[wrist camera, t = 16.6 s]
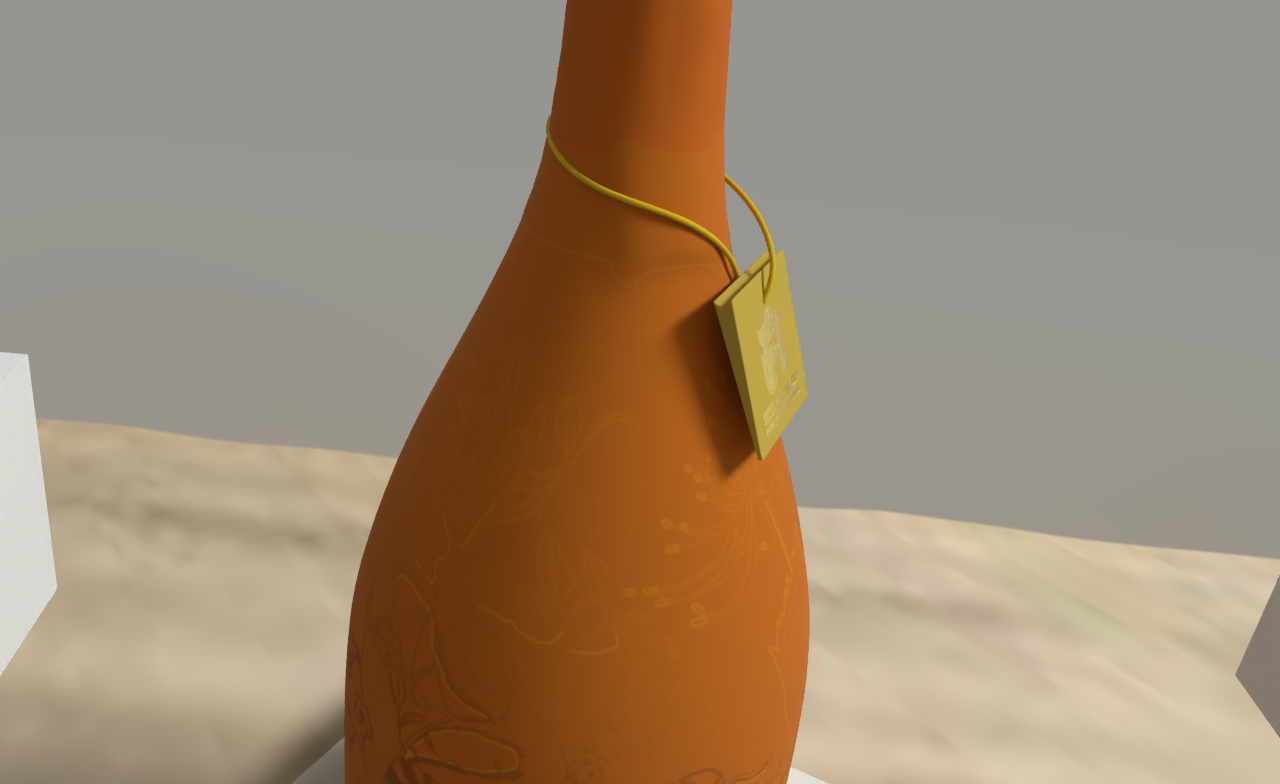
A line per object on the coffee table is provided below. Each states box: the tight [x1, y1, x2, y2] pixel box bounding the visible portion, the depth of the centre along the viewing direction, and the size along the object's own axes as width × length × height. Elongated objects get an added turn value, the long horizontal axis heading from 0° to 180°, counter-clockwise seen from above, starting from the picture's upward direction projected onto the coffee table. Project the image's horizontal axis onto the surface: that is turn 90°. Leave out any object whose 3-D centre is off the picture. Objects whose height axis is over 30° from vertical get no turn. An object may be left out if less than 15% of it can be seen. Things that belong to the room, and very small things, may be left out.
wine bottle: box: [344, 0, 810, 784], centre depth 24 cm, size 10×10×30 cm
